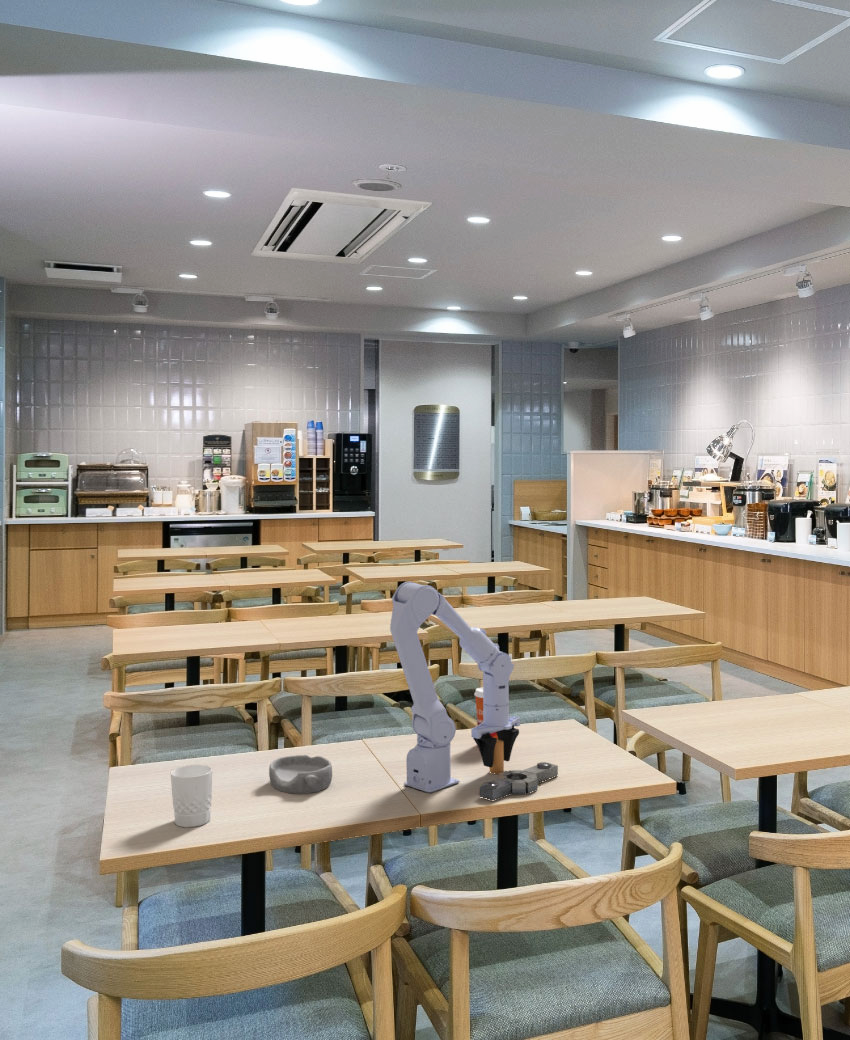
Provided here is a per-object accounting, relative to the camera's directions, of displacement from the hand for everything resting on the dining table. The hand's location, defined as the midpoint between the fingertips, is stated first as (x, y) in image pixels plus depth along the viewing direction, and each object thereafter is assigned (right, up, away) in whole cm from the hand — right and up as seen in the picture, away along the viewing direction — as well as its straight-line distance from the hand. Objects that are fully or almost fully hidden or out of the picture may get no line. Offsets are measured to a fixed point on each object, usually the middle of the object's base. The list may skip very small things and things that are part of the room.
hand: (496, 763), depth 205 cm
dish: (-43, -3, -6) cm, 44 cm away
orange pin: (0, -2, 0) cm, 2 cm away
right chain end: (+6, -2, -8) cm, 10 cm away
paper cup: (0, -1, +21) cm, 21 cm away
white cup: (-62, -4, -27) cm, 67 cm away
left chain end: (+2, -3, -13) cm, 13 cm away
